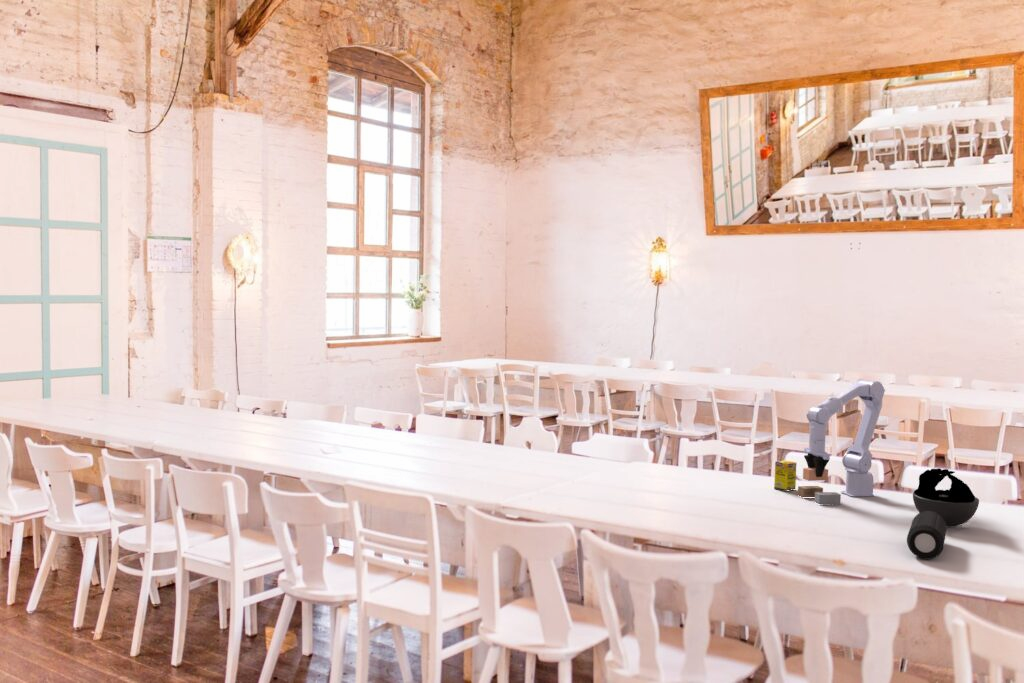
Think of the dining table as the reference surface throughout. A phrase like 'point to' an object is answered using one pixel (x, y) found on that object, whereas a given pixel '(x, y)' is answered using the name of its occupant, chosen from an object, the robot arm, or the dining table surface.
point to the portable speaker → (927, 535)
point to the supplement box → (785, 475)
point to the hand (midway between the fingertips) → (815, 475)
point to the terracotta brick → (814, 474)
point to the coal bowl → (945, 497)
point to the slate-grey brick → (827, 498)
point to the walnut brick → (808, 490)
